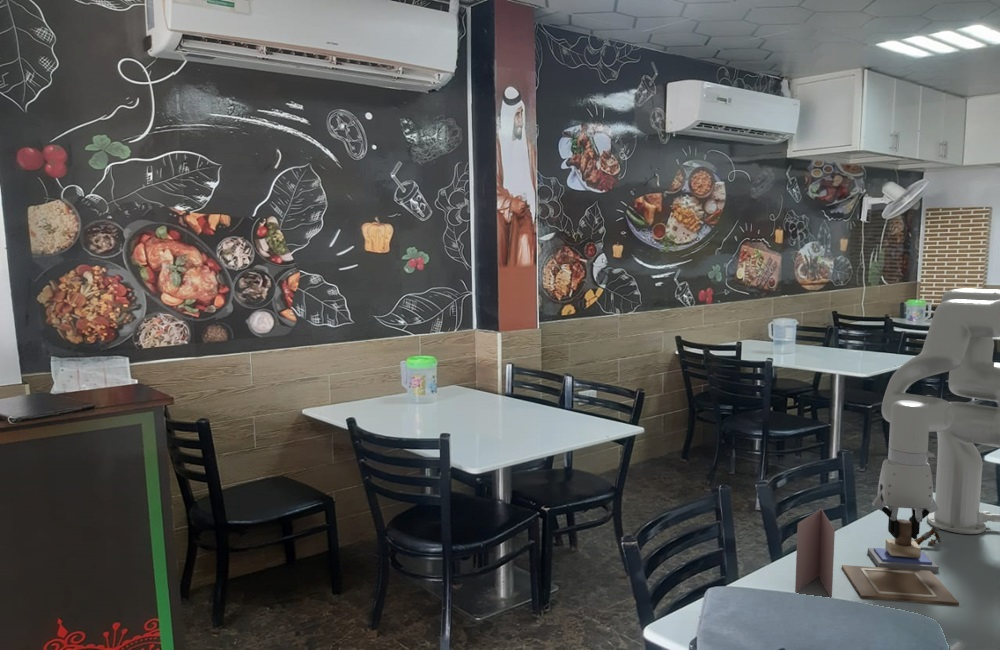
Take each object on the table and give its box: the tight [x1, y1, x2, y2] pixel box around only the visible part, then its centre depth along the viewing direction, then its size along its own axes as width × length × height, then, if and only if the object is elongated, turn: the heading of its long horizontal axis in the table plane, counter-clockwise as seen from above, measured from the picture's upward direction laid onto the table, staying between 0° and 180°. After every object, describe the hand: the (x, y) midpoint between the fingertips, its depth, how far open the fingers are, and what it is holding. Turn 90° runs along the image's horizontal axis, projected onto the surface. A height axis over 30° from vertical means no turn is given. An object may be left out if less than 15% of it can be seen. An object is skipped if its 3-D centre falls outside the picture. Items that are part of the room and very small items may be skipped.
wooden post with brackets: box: [912, 526, 942, 546], centre depth 169 cm, size 2×8×4 cm, turn 105°
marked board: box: [841, 564, 960, 606], centre depth 149 cm, size 18×14×1 cm
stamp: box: [884, 518, 922, 559], centre depth 160 cm, size 6×4×8 cm, turn 77°
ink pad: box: [867, 547, 940, 573], centre depth 160 cm, size 12×8×2 cm, turn 79°
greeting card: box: [794, 508, 836, 598], centre depth 148 cm, size 11×7×15 cm, turn 133°
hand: (903, 535), depth 160 cm, fingers closed on stamp, 3 cm apart
